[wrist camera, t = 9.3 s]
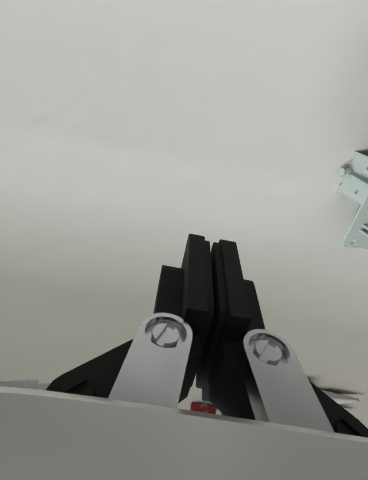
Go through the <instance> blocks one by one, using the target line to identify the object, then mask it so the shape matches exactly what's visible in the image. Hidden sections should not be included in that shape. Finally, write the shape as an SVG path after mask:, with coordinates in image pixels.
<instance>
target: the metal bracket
mask: <svg viewBox="0 0 368 480" xmlns="http://www.w3.org/2000/svg"><path fill="white" fill-rule="evenodd" d="M352 158H353V161H352V162H349V164H348V166H347V168H340V169H339V170H338V176H339V177H342V179H341V181H342V184H341V185H340V184H339V186H338V188H337V191H338V192H340V193H342V194H343V195H345V196H347V197H348V198H350V199H352V200H353V201H355V202H357V203H358V204H360V205H361V206H360V208H359V210H358V212H357V214H356V216H355V218H354V220H353V222H352V224H351V226H350V228H349V230H348V232H347V234H346V236H345V238H344V240H343V242H342V245H343V246H345V247H358V248H368V156H366V155H363V154H361V153H359V152H356V151H354V153H353V155H352ZM357 190H358V194H357V193H356V192H357ZM352 239H354V241H353V242H352V243H350V242H351V240H352Z"/></svg>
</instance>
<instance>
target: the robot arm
mask: <svg viewBox="0 0 368 480" xmlns="http://www.w3.org/2000/svg"><path fill="white" fill-rule="evenodd" d="M195 375H196V387H197V388H201V389H202V400H204V401H211V403H212V404H213V405H214V406H215V407H216V408H217V410H216V414H210V413H203V412H197V411H190V410H183V409H177V406H178V403H179V402H181V401H182V400H184V399H185V398H186V397H187V396H188V393H189V390H190V387H192V385H193V381H194V378H195ZM0 480H368V429H367V428H366V427H365V426H364V425H363V424H362V423H361V422H360V421H359V420H358V419H356V418H355V417H354V416H353V415H352V414H350V413H349V412H348V411H347V410H345V409H344V408H343V407H342V406H340V405H339V404H338V403H337V402H335V401H334V400H333V399H332V398H330V397H329V396H328V395H327V394H325V393H324V392H323V391H322V390H320V389H319V388H318V387H317V386H315V385H314V384H313V383H312V382H310V381H309V380H308V378H307V376H306V374H305V372H304V370H303V368H302V366H301V364H300V362H299V360H298V358H297V356H296V354H295V352H294V350H293V348H292V347H291V345H290V344H289V343H288V342H287V341H286V340H285V339H284V338H283V337H281V336H280V335H278V334H277V333H274V332H272V331H269V330H265V327H264V323H263V318H262V314H261V310H260V306H259V302H258V298H257V294H256V290H255V286H254V283H253V281H249V280H244V279H243V275H242V270H241V265H240V260H239V255H238V250H237V245H236V242H232V241H227V240H221V239H220V241H219V243H216V242H214V243H213V245H212V249H211V253H210V241H205V237H204V236H200V235H194V234H189V236H188V240H187V244H186V249H185V253H184V258H183V262H182V267H181V268H176V267H170V266H165V265H162V269H161V274H160V280H159V285H158V290H157V296H156V302H155V307H154V313H153V314H152V315H149V316H148V317H146V318H145V319H144V320H143V321H142V322H141V324H140V326H139V328H138V330H137V333H136V335H135V337H134V339H132V340H130V341H128V342H126V343H124V344H122V345H120V346H118V347H116V348H114V349H112V350H110V351H108V352H106V353H104V354H102V355H100V356H98V357H96V358H94V359H92V360H90V361H88V362H86V363H84V364H82V365H80V366H78V367H76V368H74V369H72V370H70V371H68V372H66V373H64V374H62V375H61V376H59V377H58V378H56V379H55V380H53V381H52V383H46V384H39V379H35V380H15V381H0Z"/></svg>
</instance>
